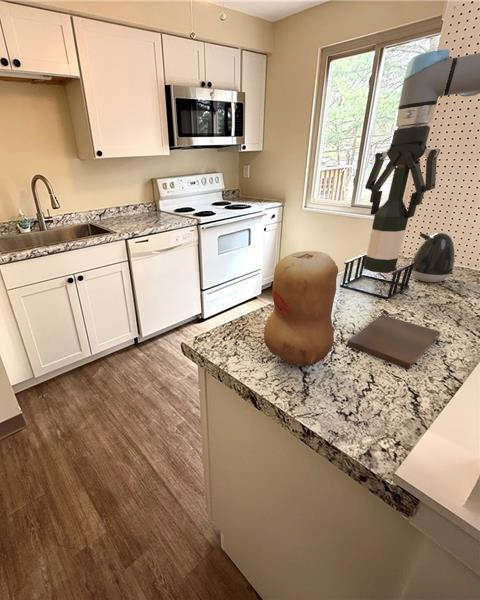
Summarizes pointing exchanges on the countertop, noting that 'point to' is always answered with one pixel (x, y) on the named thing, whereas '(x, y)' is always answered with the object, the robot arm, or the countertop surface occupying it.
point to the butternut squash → (302, 308)
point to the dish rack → (377, 278)
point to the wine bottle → (388, 227)
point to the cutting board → (394, 340)
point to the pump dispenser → (434, 258)
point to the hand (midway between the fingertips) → (391, 215)
